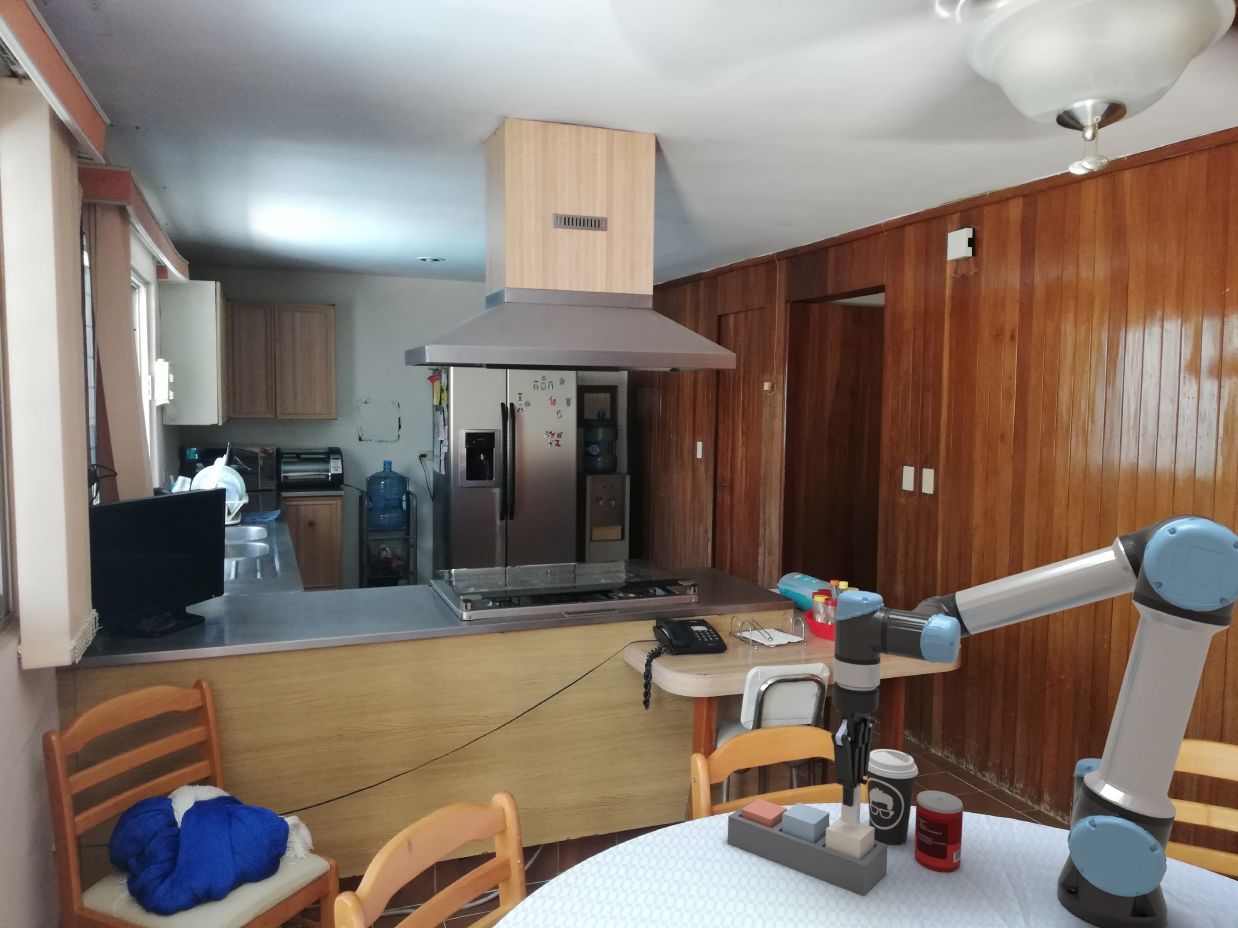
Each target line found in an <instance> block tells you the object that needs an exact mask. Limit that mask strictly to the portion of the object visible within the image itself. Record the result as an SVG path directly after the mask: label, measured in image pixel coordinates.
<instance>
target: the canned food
mask: <svg viewBox="0 0 1238 928" xmlns="http://www.w3.org/2000/svg"><path fill="white" fill-rule="evenodd" d="M915 803H916V804H915V824H914V825H915V827H914V832H915V833H914V855H915V859H916V861H917V862H918V863H919V864H920V865H921V866H923V867H924V868H927V869H929V870H932V871H936V872H942V873H943V872H944V873H946V872H953V871H956V870H958V868H959V867H960V864H961V860H962V857H961V856H962V840H963V839H962V835H963V818H964V817H963V816H964V807H963V802H962V800H961V799H960V798H959V797H957V796H955V795H953V794H951V793H947V792H944V791H940V790H939V791H938V790H923V791H920V792H919V793H918V794H917V795H916V802H915Z"/></svg>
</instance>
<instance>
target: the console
mask: <svg viewBox="0 0 1238 928" xmlns="http://www.w3.org/2000/svg"><path fill="white" fill-rule="evenodd" d="M755 800H756V799H753V800H751V801H750V802H749V803H747V804H745V805H743V807H740V808H739V809H738V810H736V811H734V812H733V813H731V814H730V815H727V816H728V819H727V821H728V822H727V842H726V843H727V844H728V845H731V846H733V847H736V848H738V849H741V850H744V851H746V852H749V853H751V854H754V855H757V856H760V857H762V858H765V859H767V860H770V861H772V862H774V863H777V864H780V865H782V866H785V867H788V868H790V869H792V870H795V871H798V872H801V873H803V874H806V875H808V876H810V877H813V878H816V879H819V880H821V881H823V882H826V883H828V884H829V883H830V884H831V885H833V886H837V887H839V888H842V889H845V890H847V891H850V892H851V893H854V894H858V895H860V896H862V897H865V896H866V895H867V894H868V893H869V892H870V891H871V890H872V889H873V888H874V886H875V885H877V884H878V883H879V882H880V881H881V880H882V878H883V877H884V876H886V875H887V867H888V865H887V864H888V863H887V862H888V844H885V843H881V842H879V841H877V840H875V839H874V849H873V850H872V851H871V852H870V853H869V854H868V855H866V856H865V857H864V858H863V859H862V860H858V859H855V858H853V857H850V856H847V855H844V854H842V853H839V852H836V851H833V850H830V849H828V848H825V845H826V835H825V836H824V837H823V838H822V839H820V840H819V841H818V842H817V843H815V844H814V843H811V842H808V841H805V840H803V839H800V838H797V837H794V836H792V835H789V834H786V833H783V832H782V822H780V823H779V824H777V825H776V826H775V827H773V828H769V827H767V826H764V825H761V824H758V823H755V822H753V821H750V820H747V819H744V818H742V817H741V812H742V809H743V808H744V807H746V806H747V805H749V804H751V803H752V802H754V801H755ZM830 825H831V824H829V826H830Z"/></svg>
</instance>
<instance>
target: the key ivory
mask: <svg viewBox="0 0 1238 928" xmlns="http://www.w3.org/2000/svg"><path fill="white" fill-rule="evenodd" d="M829 825H830V826H829V827H828V828H826V845H825V848H828V849H830V850H833V851H836V852H839V853H842V854H844V855H847V856H850V857H853V858H855V859H858V860H862V859H863V858H864V857H865V856H866V855H868V854H869V853H870V852H871V851H872V850H873V849H874V840H875V839H874V829H875V828H874V827H871V826H870V825H868V824H864V823H862V822H860V823H859V824H858V825H857V826H854V825H851V824H848V823H845V822H842V821H841V816H840V817H839V818H838V819H837V820H835V821H834V822H833V823H831V824H829Z"/></svg>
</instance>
